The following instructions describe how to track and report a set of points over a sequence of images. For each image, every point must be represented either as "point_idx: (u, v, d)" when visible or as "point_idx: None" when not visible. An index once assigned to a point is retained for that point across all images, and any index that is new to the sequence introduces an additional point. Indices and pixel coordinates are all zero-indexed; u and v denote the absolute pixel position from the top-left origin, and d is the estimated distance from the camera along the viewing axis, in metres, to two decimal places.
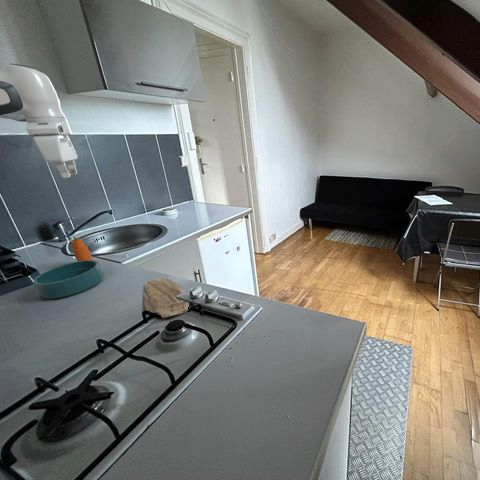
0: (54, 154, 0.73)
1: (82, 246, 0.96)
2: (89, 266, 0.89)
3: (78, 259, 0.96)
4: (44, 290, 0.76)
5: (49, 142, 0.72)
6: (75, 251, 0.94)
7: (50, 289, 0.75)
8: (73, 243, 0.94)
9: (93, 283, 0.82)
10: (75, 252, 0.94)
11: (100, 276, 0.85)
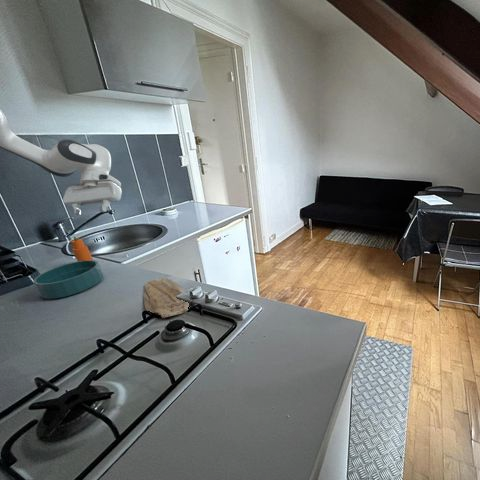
0: (119, 195, 1.05)
1: (82, 246, 0.96)
2: (89, 266, 0.89)
3: (78, 259, 0.96)
4: (44, 290, 0.76)
5: (118, 187, 1.06)
6: (75, 251, 0.94)
7: (50, 289, 0.75)
8: (73, 243, 0.94)
9: (93, 283, 0.82)
10: (75, 252, 0.94)
11: (100, 276, 0.85)
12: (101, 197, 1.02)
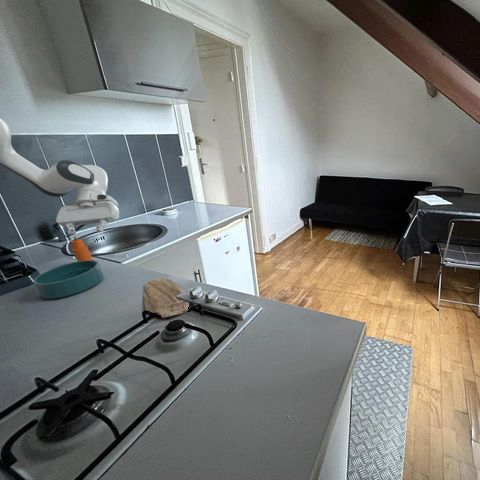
0: (117, 215, 1.05)
1: (82, 246, 0.96)
2: (89, 266, 0.89)
3: (78, 259, 0.96)
4: (44, 290, 0.76)
5: (116, 208, 1.06)
6: (75, 251, 0.94)
7: (50, 289, 0.75)
8: (73, 243, 0.94)
9: (93, 283, 0.82)
10: (75, 252, 0.94)
11: (100, 276, 0.85)
12: (99, 217, 1.01)
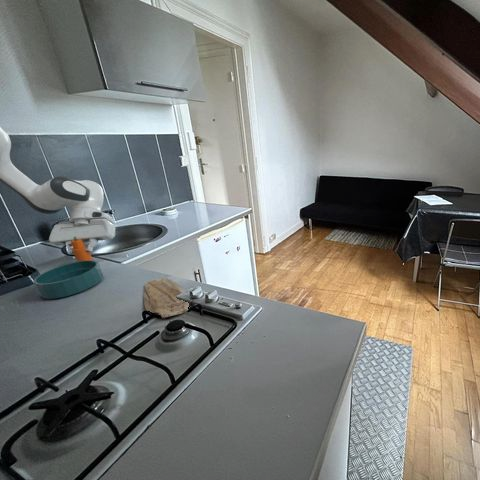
0: (113, 232, 1.01)
1: (82, 246, 0.96)
2: (89, 266, 0.89)
3: (78, 259, 0.96)
4: (44, 290, 0.76)
5: (113, 225, 1.02)
6: (75, 251, 0.94)
7: (50, 289, 0.75)
8: (73, 243, 0.94)
9: (93, 283, 0.82)
10: (75, 252, 0.94)
11: (100, 276, 0.85)
12: (94, 235, 0.97)
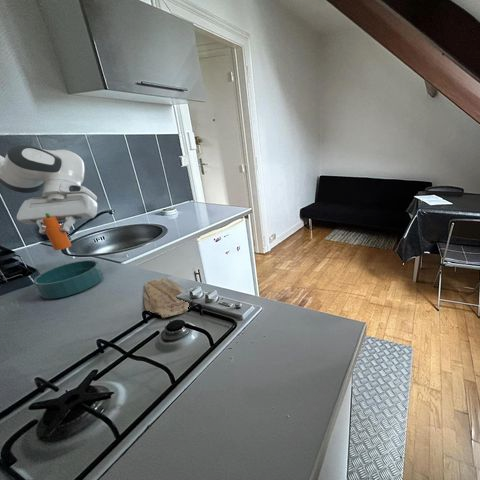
0: (94, 210, 0.86)
1: (56, 225, 0.80)
2: (89, 266, 0.89)
3: (51, 240, 0.80)
4: (44, 290, 0.76)
5: (94, 202, 0.87)
6: (48, 231, 0.79)
7: (50, 289, 0.75)
8: (45, 221, 0.78)
9: (93, 283, 0.82)
10: (47, 232, 0.79)
11: (100, 276, 0.85)
12: (71, 213, 0.82)
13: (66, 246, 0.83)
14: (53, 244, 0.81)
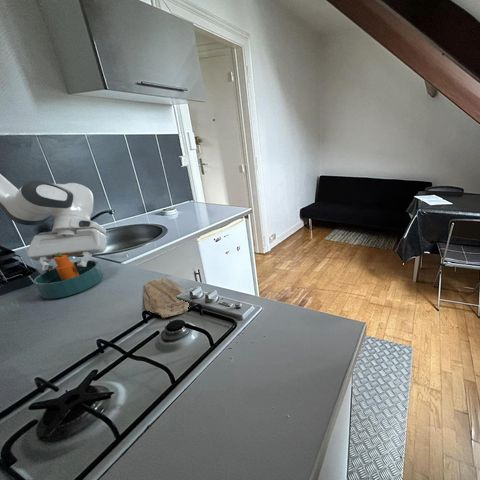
0: (104, 245, 0.85)
1: (68, 263, 0.81)
2: (89, 266, 0.89)
3: (63, 279, 0.81)
4: (44, 290, 0.76)
5: (103, 236, 0.87)
6: (59, 270, 0.79)
7: (50, 289, 0.75)
8: (57, 260, 0.79)
9: (93, 283, 0.82)
10: (59, 271, 0.79)
11: (100, 276, 0.85)
12: (81, 249, 0.82)
13: None
14: None
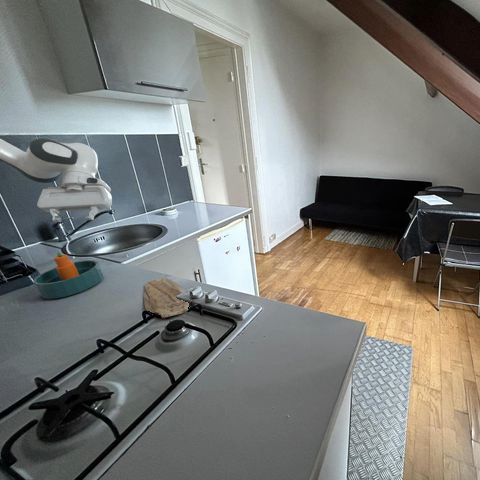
0: (110, 201, 0.93)
1: (68, 263, 0.81)
2: (89, 266, 0.89)
3: (63, 279, 0.81)
4: (44, 290, 0.76)
5: (109, 193, 0.94)
6: (59, 270, 0.79)
7: (50, 289, 0.75)
8: (57, 260, 0.79)
9: (93, 283, 0.82)
10: (59, 271, 0.79)
11: (100, 276, 0.85)
12: (89, 203, 0.90)
13: None
14: None
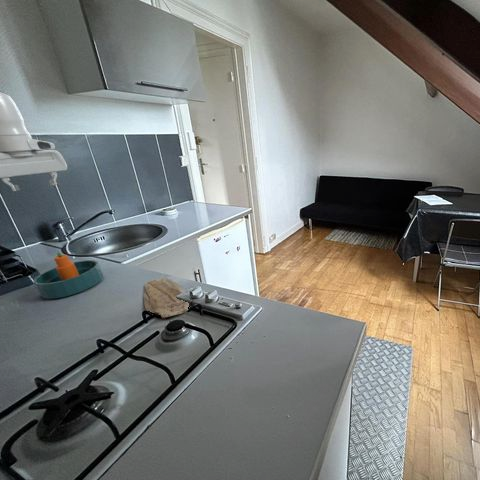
0: None
1: (68, 263, 0.81)
2: (89, 266, 0.89)
3: (63, 279, 0.81)
4: (44, 290, 0.76)
5: None
6: (59, 270, 0.79)
7: (50, 289, 0.75)
8: (57, 260, 0.79)
9: (93, 283, 0.82)
10: (59, 271, 0.79)
11: (100, 276, 0.85)
12: (50, 170, 0.91)
13: None
14: None
